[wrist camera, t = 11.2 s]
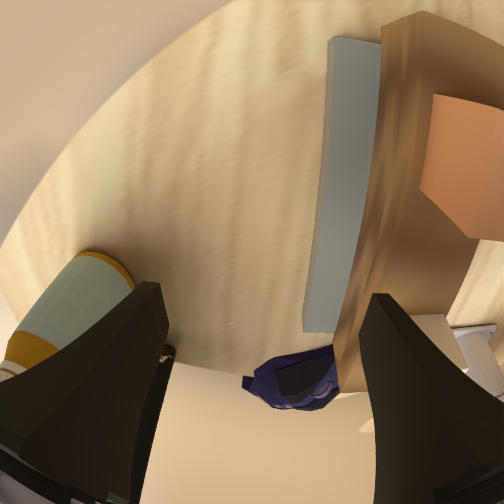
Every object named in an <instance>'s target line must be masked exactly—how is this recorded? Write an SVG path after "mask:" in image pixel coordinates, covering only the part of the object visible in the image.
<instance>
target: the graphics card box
mask: <svg viewBox="0 0 504 504" xmlns="http://www.w3.org/2000/svg"><path fill="white" fill-rule="evenodd" d="M175 356H176V350H175V349H173V348H172V347H169V346H168V345H165V346H164V350H163V353H162V355H161V358H160V361H159V364H158V366H157V369H156V372H155V374H154V377H153V380H152V382H151V385H150V388H149V391H148V393H147V396H146V399H145V402H144V406H143V409H142V413H141V417H140V422H139V427H138V432H137V437H136V443H135V449H134V456H133V464H132V473H131V487H130V502H129V503H127V504H139V502H140V498H141V492H142V488H143V484H144V478H145V474H146V470H147V466H148V461H149V456H150V452H151V448H152V443H153V439H154V436H155V431H156V428H157V423H158V420H159V415H160V411H161V408H162V404H163V401H164V396H165V393H166V389H167V384H168V381H169V378H170V374H171V370H172V367H173V364H174V360H175ZM95 504H100V503H97V502H95ZM106 504H114V503H112V502H109V501H107V502H106Z"/></svg>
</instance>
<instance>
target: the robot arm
mask: <svg viewBox="0 0 504 504" xmlns="http://www.w3.org/2000/svg"><path fill="white" fill-rule="evenodd" d="M168 329H169V321H168V317H167V313H166V309H165V305H164V300H163V296H162V291H161V287H160V283H156V282H142V283H141V284H140V285H139V286H138V287H136V288H135V289H134V290H133V291H132V292H131V293H130V294H128V295H127V296H126V297H125V298H124V299H123V300H122V301H121V302H119V303H118V304H117V305H116V306H115V307H114V308H113V309H111V310H110V311H109V312H108V313H107V314H106V315H105V316H104V317H102V318H101V319H100V320H99V321H98V322H96V323H95V324H94V325H93V326H91V327H90V328H89V329H88V330H87V331H85V332H84V333H83V334H82V335H80V336H79V337H78V338H76V339H75V340H74V341H72V342H71V343H70V344H68V345H67V346H65V347H64V348H62V349H61V350H60V351H58V352H57V353H55V354H53V355H52V356H50V357H48V358H47V359H45V360H43V361H42V362H40V363H38V364H37V365H35V366H33V367H31V368H30V369H28V370H26V371H24V372H22V373H20V374H17V375H15V376H13V377H11V378H9V379H6V380H4V381H1V382H0V504H95V502H97V503H100V504H106V502H107V501H109V502H112V503H114V504H127V503H129V502H130V487H131V473H132V464H133V456H134V449H135V443H136V437H137V432H138V427H139V422H140V417H141V413H142V409H143V406H144V402H145V399H146V396H147V393H148V391H149V388H150V385H151V382H152V380H153V377H154V374H155V372H156V369H157V366H158V364H159V361H160V358H161V355H162V353H163V350H164V346H165V342H166V338H167V333H168ZM496 329H497V327H496V325H487V326H478V327H468V328H458V329H452V331H453V333H454V335H455V338H456V340H457V342H458V344H459V346H460V348H461V350H462V352H463V355H464V357H465V359H466V361H467V364H468V366H469V370H468V371H467V372H466V373H464V372H463V371H462V370H461V369H460V368H458V367H457V366H456V365H455V364H454V363H453V362H452V361H451V360H450V359H449V358H448V357H447V356H446V355H445V354H444V353H443V352H442V351H441V350H440V349H439V348H438V347H437V346H436V345H435V344H434V343H433V342H432V341H431V340H430V339H429V338H428V336H427V335H426V334H425V333H424V332H423V331H422V330H421V329H420V328H419V326H418V325H417V324H416V323H415V322H414V321H413V320H412V319H411V317H410V316H409V315H408V314H407V313H406V312H405V311H404V309H403V308H402V307H401V306H400V305H399V304H398V303H397V302H396V301H395V300H394V298H393V297H392V296H391V295H390V294H389V293H372V296H371V299H370V302H369V305H368V308H367V311H366V314H365V317H364V320H363V323H362V326H361V328H360V331H359V334H358V336H359V345H360V354H361V361H362V366H363V370H364V375H365V379H366V384H367V388H368V393H369V397H370V402H371V407H372V412H373V418H374V427H375V443H376V478H375V493H374V502H373V504H504V375H503V373H502V371H501V369H500V366H499V364H498V362H497V360H496V358H495V356H494V354H493V352H492V350H491V348H490V346H489V344H488V342H489V340H490V339H491V337H492V336H493V334H494V332H495V331H496Z"/></svg>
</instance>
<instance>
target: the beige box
mask: <svg viewBox="0 0 504 504" xmlns="http://www.w3.org/2000/svg"><path fill="white" fill-rule="evenodd" d="M409 316H410V317H411V319H412V320H413V321H414V322H415V323H416V324H417V325H418V326H419V328H420V329H421V330H422V331H423V332H424V333H425V334H426V335H427V336H428V338H429V339H430V340H431V341H432V342H433V343H434V344H435V345H436V346H437V347H438V348H439V349H440V350H441V351H442V352H443V353H444V354H445V355H446V356H447V357H448V358H449V359H450V360H451V361H452V362H453V363H454V364H455V365H456V366H457V367H458V368H460V369H461V370H462V371H463V372H464V373H466V372H467V371H468V370H469V366H468V364H467V361H466V359H465V357H464V355H463V352H462V350H461V348H460V346H459V344H458V342H457V340H456V338H455V335H454V333H453V331H452V329H451V327H450V325H449V323H448V321H447V319H446V318H445V316H444V314H432V315H409Z"/></svg>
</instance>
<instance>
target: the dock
mask: <svg viewBox="0 0 504 504" xmlns="http://www.w3.org/2000/svg"><path fill="white" fill-rule="evenodd" d="M380 62H381V44H377V43H372V42H367V41H362V40H357V39H351V38H345V37H338V36H334V37H333V38H331V39H330V40H329V41H328V59H327V85H326V105H325V121H324V135H323V148H322V160H321V171H320V181H319V191H318V201H317V210H316V218H315V227H314V235H313V243H312V250H311V258H310V265H309V272H308V279H307V286H306V292H305V299H304V305H303V311H302V321H303V332H318V333H335V330H336V327H337V323H338V320H339V316H340V313H341V309H342V305H343V301H344V298H345V294H346V290H347V286H348V282H349V278H350V273H351V269H352V265H353V260H354V256H355V251H356V247H357V242H358V237H359V232H360V227H361V222H362V217H363V211H364V206H365V200H366V194H367V188H368V182H369V175H370V168H371V161H372V154H373V146H374V138H375V129H376V119H377V108H378V96H379V82H380Z"/></svg>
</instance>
